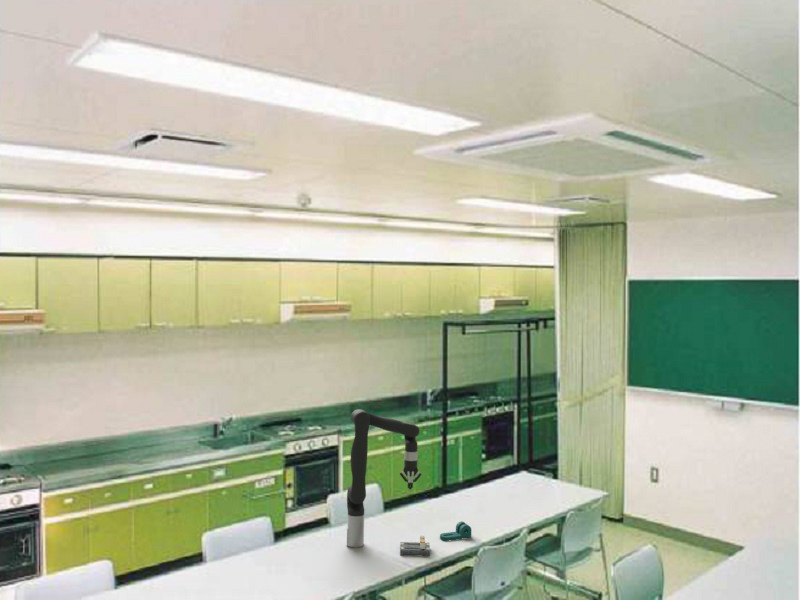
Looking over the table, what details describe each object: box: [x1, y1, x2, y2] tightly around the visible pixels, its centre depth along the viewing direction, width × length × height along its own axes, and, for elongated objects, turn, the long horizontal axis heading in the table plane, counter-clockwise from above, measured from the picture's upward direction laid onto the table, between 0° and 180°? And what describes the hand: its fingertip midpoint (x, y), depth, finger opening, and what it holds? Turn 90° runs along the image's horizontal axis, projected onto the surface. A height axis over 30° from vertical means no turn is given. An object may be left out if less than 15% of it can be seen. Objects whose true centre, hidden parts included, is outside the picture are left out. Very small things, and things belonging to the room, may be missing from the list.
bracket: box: [439, 521, 472, 542], centre depth 398 cm, size 18×7×8 cm, turn 111°
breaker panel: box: [399, 541, 431, 557], centre depth 376 cm, size 16×11×3 cm
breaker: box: [419, 535, 426, 541], centre depth 379 cm, size 2×3×4 cm
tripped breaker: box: [419, 539, 426, 549], centre depth 373 cm, size 2×3×4 cm
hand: (410, 488), depth 393 cm, fingers closed
